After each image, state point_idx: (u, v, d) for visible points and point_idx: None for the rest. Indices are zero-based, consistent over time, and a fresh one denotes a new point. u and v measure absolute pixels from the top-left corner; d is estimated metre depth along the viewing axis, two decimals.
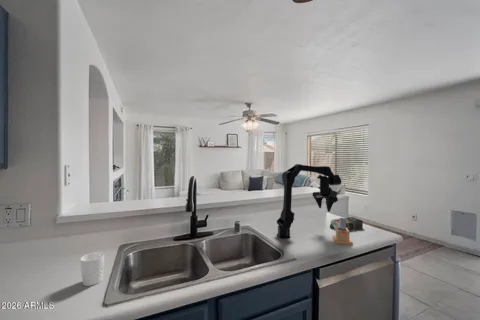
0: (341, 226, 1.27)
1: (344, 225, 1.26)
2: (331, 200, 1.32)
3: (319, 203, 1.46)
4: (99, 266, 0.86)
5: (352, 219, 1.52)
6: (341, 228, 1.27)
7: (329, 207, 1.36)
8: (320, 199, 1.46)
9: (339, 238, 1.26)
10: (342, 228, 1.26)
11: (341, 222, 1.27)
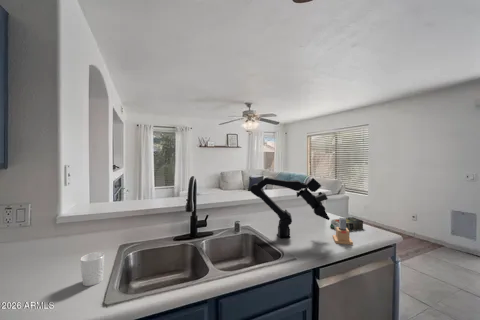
0: (341, 226, 1.27)
1: (344, 225, 1.26)
2: (317, 212, 1.22)
3: None
4: (99, 266, 0.86)
5: (352, 219, 1.52)
6: (341, 228, 1.27)
7: (325, 216, 1.25)
8: None
9: (339, 238, 1.26)
10: (342, 228, 1.26)
11: (341, 222, 1.27)
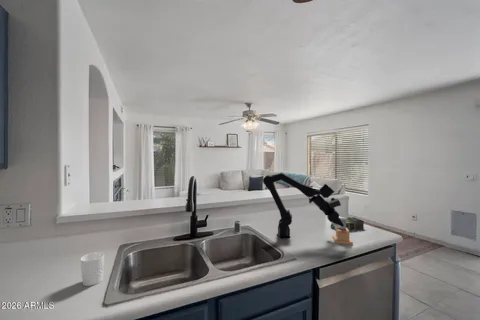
0: (341, 226, 1.27)
1: (344, 225, 1.26)
2: (331, 219, 1.20)
3: None
4: (99, 266, 0.86)
5: (353, 219, 1.52)
6: (341, 228, 1.27)
7: (339, 222, 1.23)
8: None
9: (339, 238, 1.26)
10: (342, 228, 1.26)
11: None
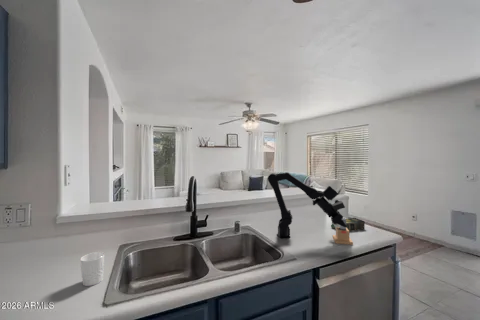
0: (341, 226, 1.27)
1: None
2: (335, 221, 1.20)
3: None
4: (99, 266, 0.86)
5: (354, 219, 1.51)
6: (341, 228, 1.27)
7: (341, 223, 1.25)
8: None
9: (339, 238, 1.26)
10: (342, 228, 1.26)
11: None
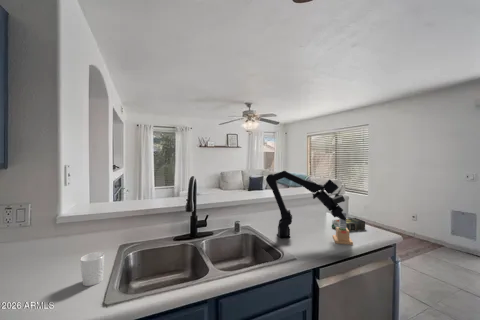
0: (341, 220, 1.26)
1: None
2: (335, 215, 1.20)
3: None
4: (99, 266, 0.86)
5: (354, 220, 1.51)
6: (341, 222, 1.26)
7: (342, 217, 1.25)
8: None
9: (339, 238, 1.26)
10: (342, 221, 1.26)
11: None
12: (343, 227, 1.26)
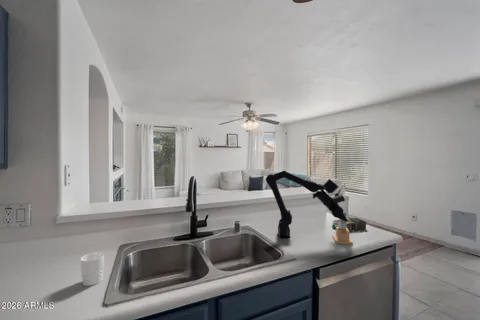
0: None
1: None
2: (335, 214, 1.20)
3: None
4: (99, 266, 0.86)
5: (355, 220, 1.51)
6: (341, 221, 1.26)
7: (343, 218, 1.22)
8: None
9: (339, 238, 1.26)
10: (342, 221, 1.26)
11: None
12: (343, 227, 1.26)
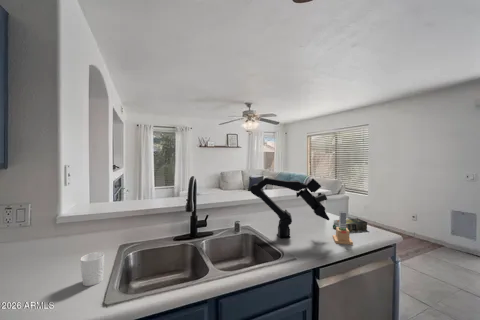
0: (341, 219, 1.26)
1: (344, 218, 1.26)
2: (317, 212, 1.22)
3: None
4: (99, 266, 0.86)
5: (356, 220, 1.50)
6: (341, 221, 1.26)
7: (325, 216, 1.25)
8: None
9: (339, 238, 1.26)
10: (342, 221, 1.26)
11: (341, 215, 1.26)
12: (343, 227, 1.26)
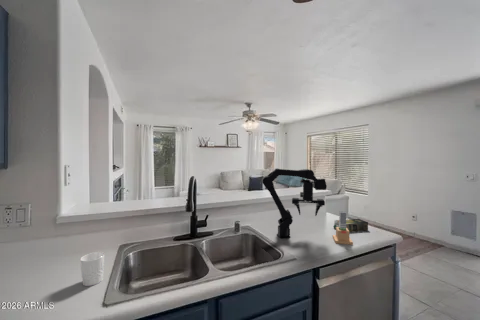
0: (341, 219, 1.26)
1: (344, 218, 1.26)
2: (324, 203, 1.31)
3: (299, 210, 1.35)
4: (99, 266, 0.86)
5: (357, 220, 1.50)
6: (341, 221, 1.26)
7: (317, 211, 1.33)
8: None
9: (339, 238, 1.26)
10: (342, 221, 1.26)
11: (341, 215, 1.26)
12: (343, 227, 1.26)
